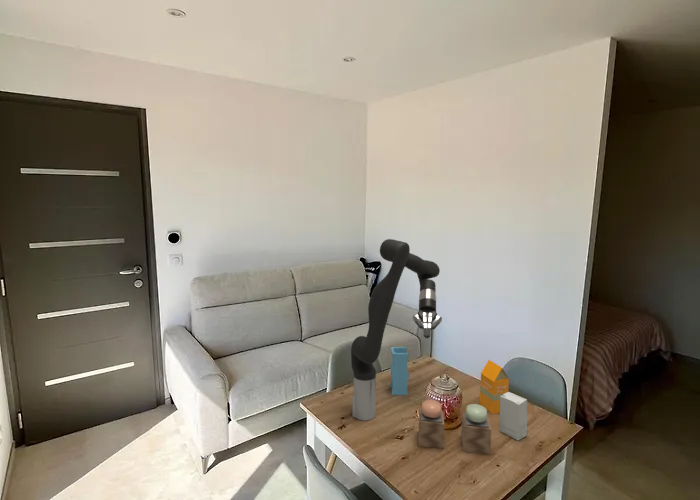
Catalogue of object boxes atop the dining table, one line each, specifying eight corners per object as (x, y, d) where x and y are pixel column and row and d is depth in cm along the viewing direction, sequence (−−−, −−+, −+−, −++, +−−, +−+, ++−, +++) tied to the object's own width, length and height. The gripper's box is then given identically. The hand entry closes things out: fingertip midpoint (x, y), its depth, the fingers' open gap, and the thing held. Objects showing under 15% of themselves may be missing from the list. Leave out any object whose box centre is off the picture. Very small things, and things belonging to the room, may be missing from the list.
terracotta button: (421, 416, 139) (422, 408, 139) (421, 406, 146) (422, 399, 146) (441, 418, 138) (441, 410, 138) (440, 408, 145) (440, 400, 145)
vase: (408, 395, 176) (409, 353, 174) (391, 395, 176) (392, 353, 174) (406, 386, 184) (407, 347, 182) (390, 386, 184) (390, 347, 182)
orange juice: (493, 401, 171) (496, 358, 169) (507, 411, 163) (510, 366, 160) (479, 403, 169) (481, 360, 166) (492, 414, 160) (494, 369, 158)
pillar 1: (418, 445, 140) (418, 420, 139) (418, 431, 149) (419, 407, 148) (443, 448, 138) (444, 423, 137) (442, 434, 147) (443, 409, 146)
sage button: (467, 421, 136) (467, 413, 136) (465, 410, 143) (465, 403, 143) (488, 423, 135) (488, 415, 135) (484, 412, 142) (485, 405, 142)
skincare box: (526, 436, 146) (529, 399, 144) (517, 441, 142) (519, 404, 140) (507, 425, 153) (509, 390, 151) (497, 430, 149) (499, 394, 147)
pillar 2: (463, 451, 137) (464, 425, 136) (461, 436, 146) (462, 411, 145) (489, 454, 135) (491, 428, 134) (485, 438, 144) (487, 414, 143)
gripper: (412, 296, 170) (411, 332, 159) (443, 298, 167) (443, 334, 157) (412, 304, 176) (411, 340, 165) (442, 306, 173) (442, 342, 163)
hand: (427, 337), depth 161 cm, fingers closed
